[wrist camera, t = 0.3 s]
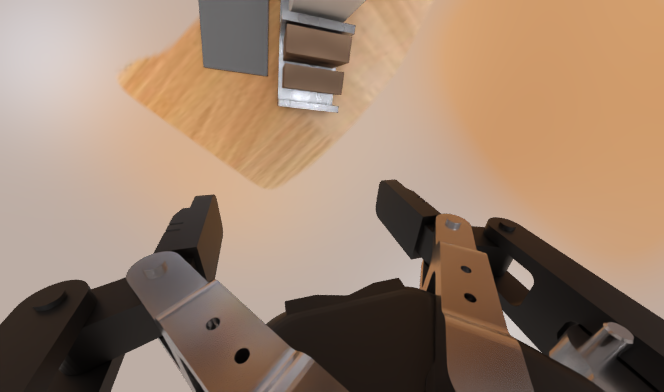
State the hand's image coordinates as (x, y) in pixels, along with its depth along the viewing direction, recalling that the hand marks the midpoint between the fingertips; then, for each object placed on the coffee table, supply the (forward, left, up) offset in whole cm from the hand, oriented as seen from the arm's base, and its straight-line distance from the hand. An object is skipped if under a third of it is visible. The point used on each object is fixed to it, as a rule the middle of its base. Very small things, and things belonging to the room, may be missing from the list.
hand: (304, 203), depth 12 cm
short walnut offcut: (-7, +3, -27) cm, 28 cm away
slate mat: (-12, -6, -28) cm, 31 cm away
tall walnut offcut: (-10, +3, -27) cm, 29 cm away
